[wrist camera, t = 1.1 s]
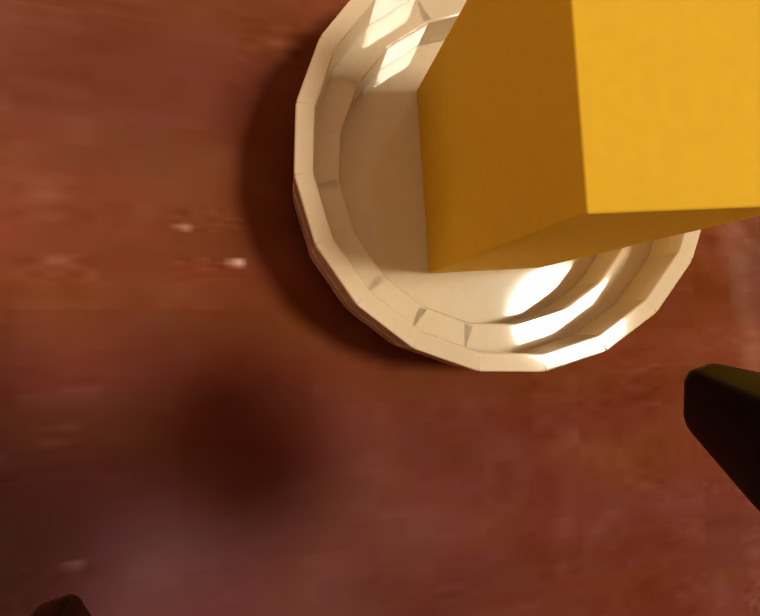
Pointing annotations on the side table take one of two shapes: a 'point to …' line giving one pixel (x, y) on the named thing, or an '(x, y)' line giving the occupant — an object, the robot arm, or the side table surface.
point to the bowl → (408, 225)
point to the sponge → (587, 128)
